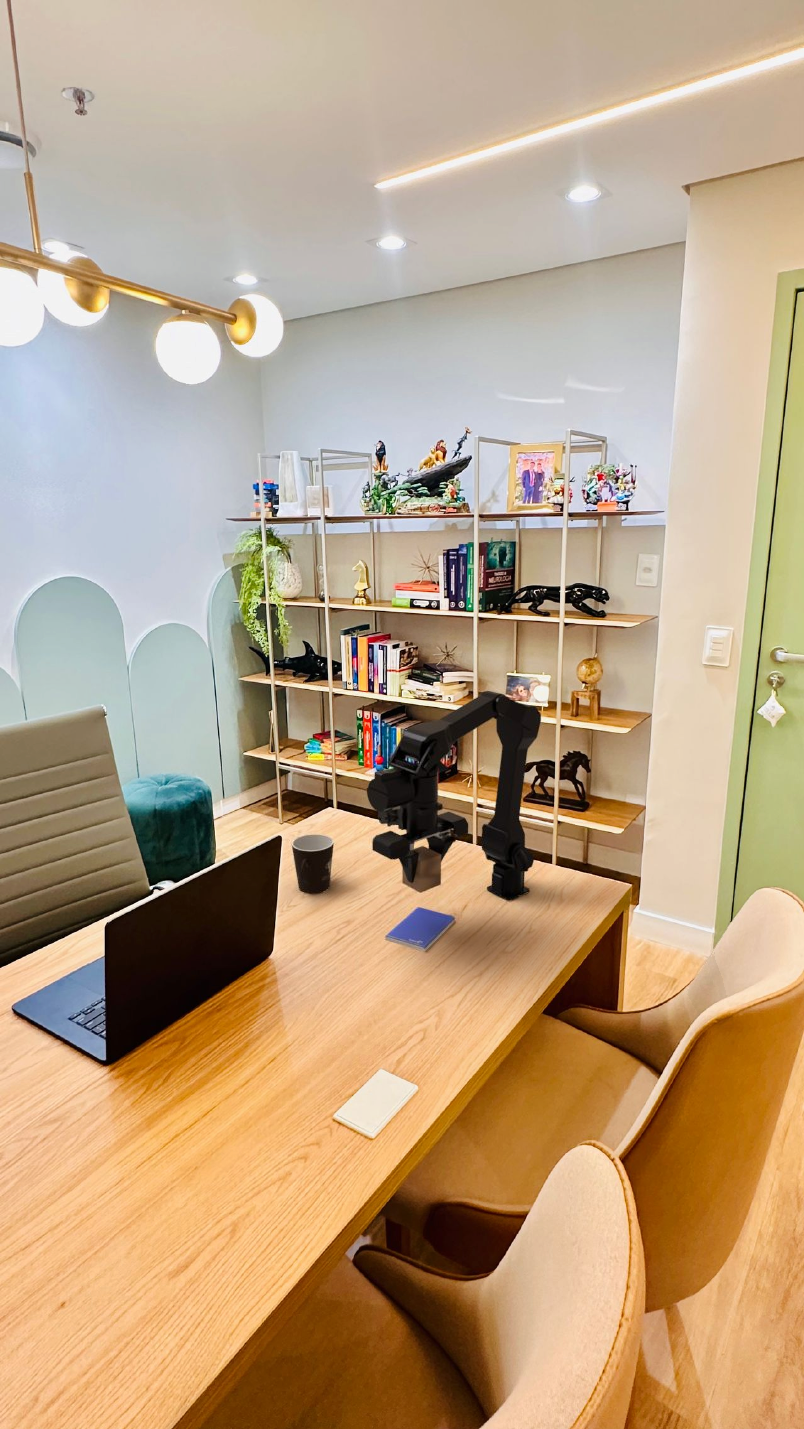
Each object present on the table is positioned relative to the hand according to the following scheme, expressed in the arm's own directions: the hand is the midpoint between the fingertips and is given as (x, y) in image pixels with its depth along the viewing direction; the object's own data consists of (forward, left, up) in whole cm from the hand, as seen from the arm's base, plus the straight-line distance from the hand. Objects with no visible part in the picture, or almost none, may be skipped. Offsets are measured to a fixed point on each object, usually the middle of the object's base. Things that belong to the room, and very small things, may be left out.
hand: (421, 877), depth 142 cm
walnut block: (0, 0, -1) cm, 1 cm away
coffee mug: (+7, -27, -11) cm, 30 cm away
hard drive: (0, 0, -11) cm, 11 cm away
